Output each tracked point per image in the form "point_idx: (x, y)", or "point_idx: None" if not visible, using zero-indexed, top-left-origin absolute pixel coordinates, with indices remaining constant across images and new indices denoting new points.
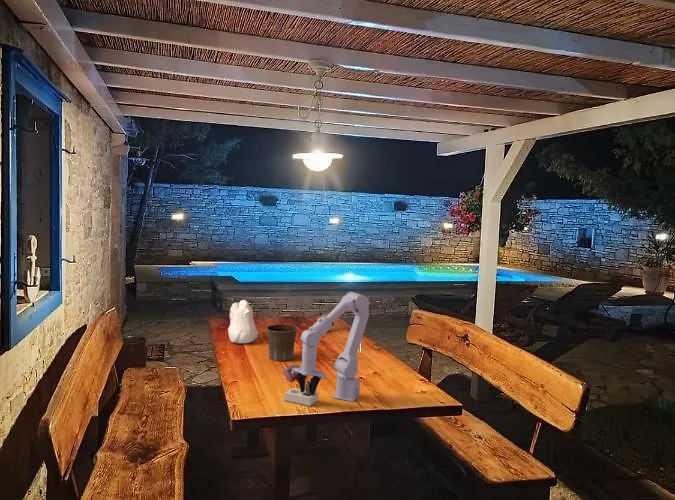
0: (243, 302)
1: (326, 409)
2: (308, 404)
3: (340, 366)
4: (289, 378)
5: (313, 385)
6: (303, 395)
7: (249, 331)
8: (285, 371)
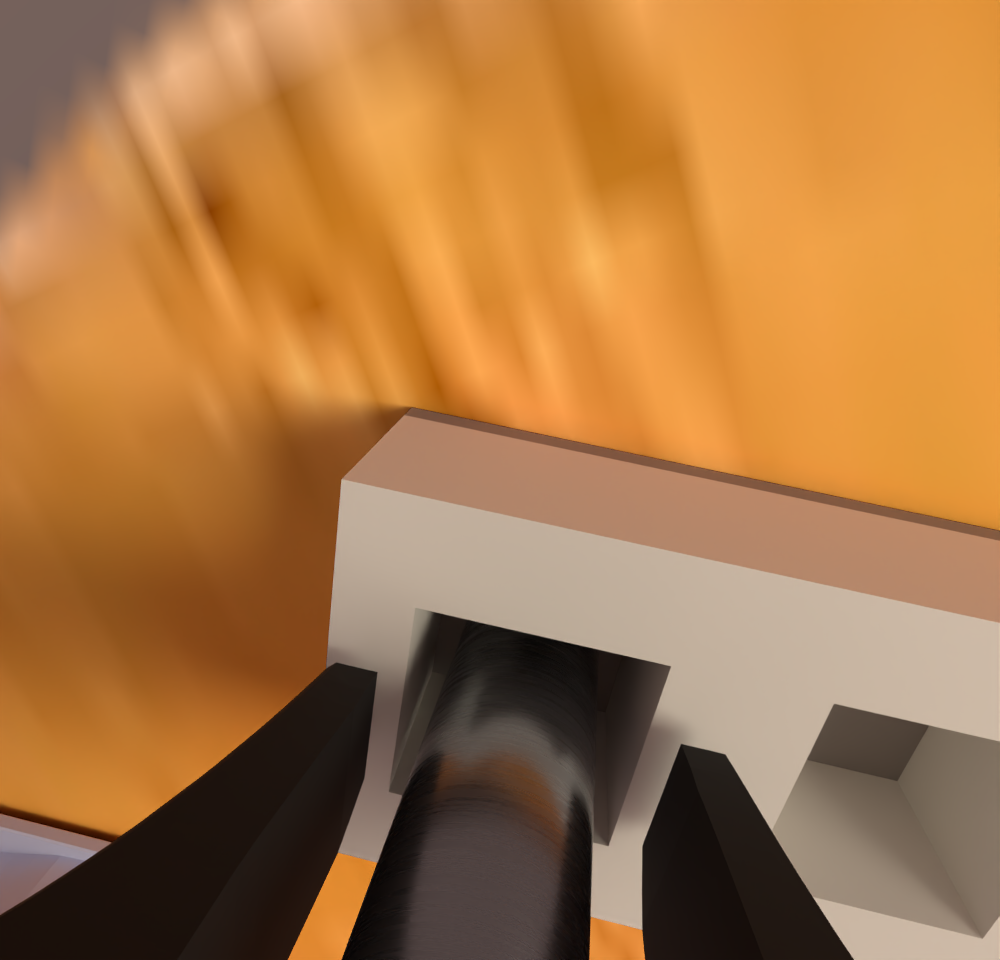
0: None
1: (68, 390)
2: (439, 427)
3: None
4: None
5: (43, 929)
6: (606, 627)
7: None
8: None
